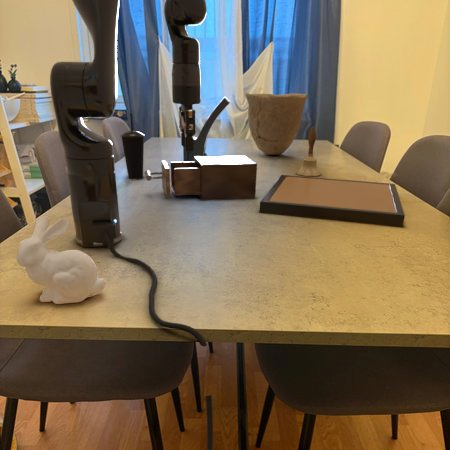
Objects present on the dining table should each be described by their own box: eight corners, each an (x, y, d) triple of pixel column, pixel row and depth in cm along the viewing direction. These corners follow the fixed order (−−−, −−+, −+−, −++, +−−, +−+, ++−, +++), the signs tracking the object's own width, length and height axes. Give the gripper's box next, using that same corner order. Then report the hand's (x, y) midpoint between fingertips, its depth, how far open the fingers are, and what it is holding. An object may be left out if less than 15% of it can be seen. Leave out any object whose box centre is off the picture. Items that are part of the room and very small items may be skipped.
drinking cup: (119, 178, 144) (113, 113, 135) (133, 174, 150) (129, 111, 141) (137, 181, 141) (133, 114, 132) (151, 176, 147) (148, 113, 138)
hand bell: (296, 175, 155) (300, 128, 147) (298, 171, 162) (302, 125, 154) (319, 177, 153) (325, 129, 145) (320, 172, 160) (326, 126, 153)
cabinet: (201, 200, 122) (201, 164, 117) (194, 189, 133) (194, 156, 128) (255, 198, 125) (257, 163, 121) (243, 188, 136) (245, 155, 132)
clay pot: (233, 150, 200) (235, 91, 189) (288, 149, 208) (293, 91, 196) (255, 161, 177) (258, 94, 166) (315, 159, 185) (323, 95, 173)
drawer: (147, 198, 119) (145, 168, 115) (145, 188, 129) (143, 160, 125) (217, 195, 123) (218, 167, 119) (209, 186, 133) (210, 159, 129)
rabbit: (21, 305, 66) (4, 230, 60) (44, 279, 74) (31, 211, 69) (100, 307, 66) (90, 232, 60) (114, 281, 74) (107, 213, 69)
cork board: (402, 226, 105) (393, 193, 135) (404, 215, 103) (394, 183, 134) (259, 212, 113) (280, 183, 143) (259, 201, 111) (281, 174, 142)
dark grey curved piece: (228, 168, 163) (229, 97, 152) (182, 166, 164) (181, 96, 153) (229, 163, 173) (231, 96, 161) (186, 161, 174) (185, 94, 162)
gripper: (169, 83, 119) (171, 145, 126) (175, 83, 106) (176, 152, 114) (196, 83, 120) (196, 144, 128) (205, 84, 108) (205, 152, 115)
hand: (187, 148), depth 121 cm, fingers open, 8 cm apart
